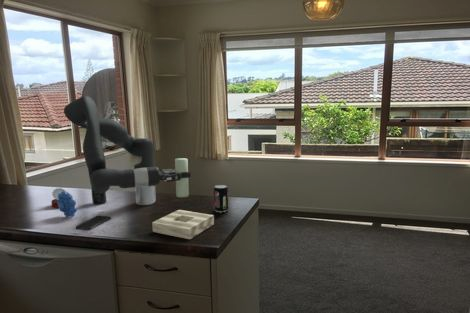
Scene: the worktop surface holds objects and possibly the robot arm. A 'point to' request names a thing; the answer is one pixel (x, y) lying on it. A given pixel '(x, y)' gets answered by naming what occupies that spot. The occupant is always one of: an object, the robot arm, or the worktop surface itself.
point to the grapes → (66, 204)
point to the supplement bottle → (98, 197)
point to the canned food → (56, 197)
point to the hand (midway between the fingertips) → (188, 173)
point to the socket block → (183, 224)
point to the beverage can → (220, 198)
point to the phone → (93, 222)
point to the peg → (182, 184)
